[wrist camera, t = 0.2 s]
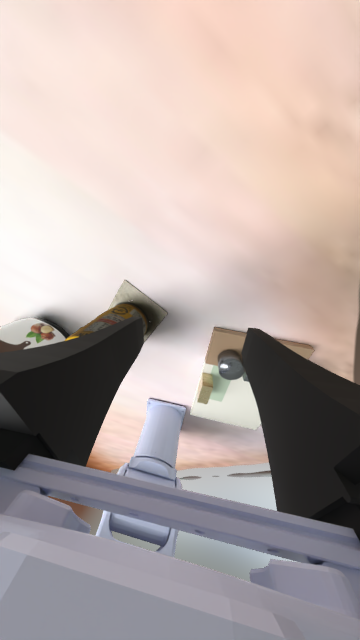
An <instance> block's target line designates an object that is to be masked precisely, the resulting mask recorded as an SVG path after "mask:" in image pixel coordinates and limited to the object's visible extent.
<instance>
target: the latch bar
mask: <svg viewBox="0 0 360 640" xmlns="http://www.w3.org/2000/svg"><path fill="white" fill-rule="evenodd" d="M217 360H218V369H219V374H220V376H221V377H223V378H224V379H227V380H236V379H239V378H240V377H243V380H244V381H247V382H249V380H248V377H247V374H246V371H245V368H244V365H243V362H242V361H241V358H240V355H239V354H238V353H237V352H236V351H233V350H225V351H222V352H221V353H220V354H219V355H218V357H217Z"/></svg>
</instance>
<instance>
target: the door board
mask: <svg viewBox="0 0 360 640" xmlns="http://www.w3.org/2000/svg"><path fill="white" fill-rule="evenodd" d="M246 335H247V333H243V332H238V331H233V330H227V329H222V328H217V327H214V330H213V333H212V337H211V340H210V344H209V347H208V351H207V354H206V358H205V361H204V365H203V368H202V372H203V373H208V374H212V376H213V390H212V392H211V395H210V398H209V401H208V403H207V404H203V403H199V402H197V394H198V386H199V383H200V379H201V376H202V372H201V375H200V379H199V382H198V385H197V389H196V392H195V396H194V399H193V403H192V406H191V410H190V415H193V416H197V417H201V418H205V419H210V420H214V421H218V422H223V423H227V424H231V425H235V426H240V427H244V428H248V429H252V430H257V429H258V427H259V426H260V425H261V420H260V415H259V411H258V407H257V404H256V400H255V397H254V394H253V392H252V389H251V386H250V383H249V382H247V381H244V380H243V377H240V378H239V379H236V380H227V379H224V378H223V377H221V376H220V374H219V369H218V360H217V357H218V355H219V354H220V353H221V352H222V351H225V350H233V351H236V352H237V353H238V354H239V355H240V358H241V361H242V362H243V360H242V354H241V352H242V348H243V345H244V342H245V338H246ZM276 340H277V341H279V342H280V343H282V344H283V345H285V346H286V347H288V348H289V349H291V350H292V351H294V352H296V353H297V354H299V355H301V356H302V357H304V358H306V359H307V360H308V359H309V358H310V356H311V355H312V353H313V352H314V351H315V350H314V349H313V348H312V347H311V346H310V345H306V344H300V343H295V342H290V341H285V340H280V339H276Z"/></svg>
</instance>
